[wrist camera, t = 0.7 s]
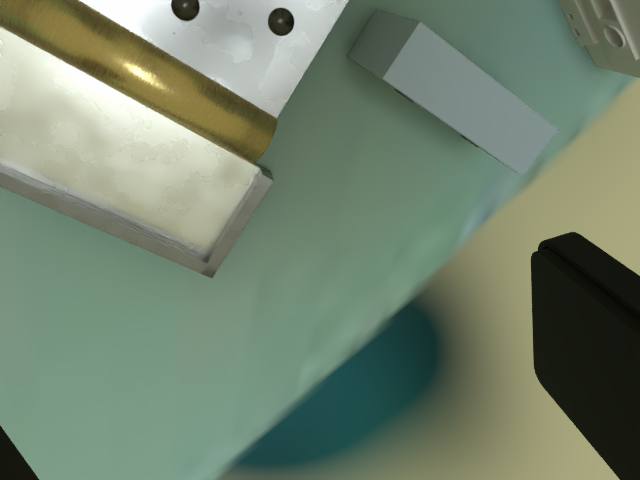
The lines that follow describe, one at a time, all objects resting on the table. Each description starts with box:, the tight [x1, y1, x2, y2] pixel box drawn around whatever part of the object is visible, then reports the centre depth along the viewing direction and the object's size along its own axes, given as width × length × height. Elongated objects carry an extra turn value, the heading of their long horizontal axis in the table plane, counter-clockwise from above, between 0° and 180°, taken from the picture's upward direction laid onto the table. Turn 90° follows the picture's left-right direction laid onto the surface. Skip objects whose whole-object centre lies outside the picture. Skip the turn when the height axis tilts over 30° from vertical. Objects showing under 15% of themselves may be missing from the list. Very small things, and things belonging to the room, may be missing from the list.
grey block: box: [347, 9, 559, 176], centre depth 30 cm, size 3×10×7 cm, turn 56°
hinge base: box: [0, 0, 349, 278], centre depth 28 cm, size 18×19×3 cm
